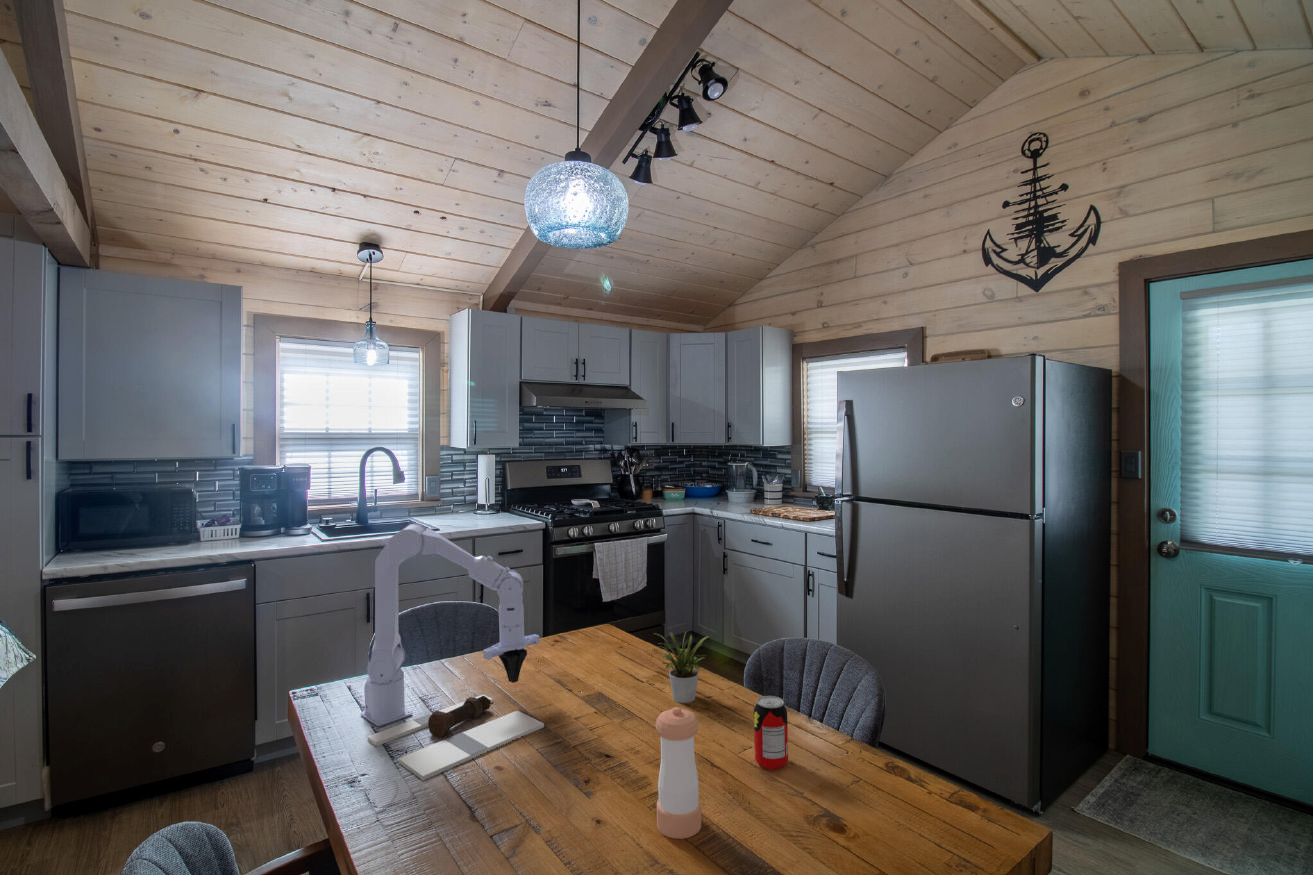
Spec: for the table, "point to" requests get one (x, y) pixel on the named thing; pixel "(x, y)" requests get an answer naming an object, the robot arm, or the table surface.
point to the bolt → (457, 716)
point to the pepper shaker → (678, 775)
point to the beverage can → (770, 732)
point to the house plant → (683, 670)
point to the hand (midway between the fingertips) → (513, 680)
